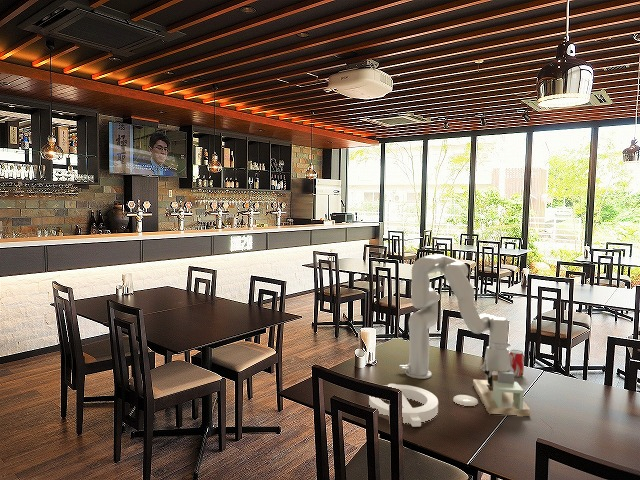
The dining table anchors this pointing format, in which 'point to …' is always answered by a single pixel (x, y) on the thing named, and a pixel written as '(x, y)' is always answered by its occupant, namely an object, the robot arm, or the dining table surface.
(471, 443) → the dining table surface
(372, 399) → the white circle with bar
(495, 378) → the walnut block
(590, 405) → the dining table surface
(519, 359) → the soda can
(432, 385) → the dining table surface
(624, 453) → the dining table surface
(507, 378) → the cover
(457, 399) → the coaster
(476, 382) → the puzzle board
